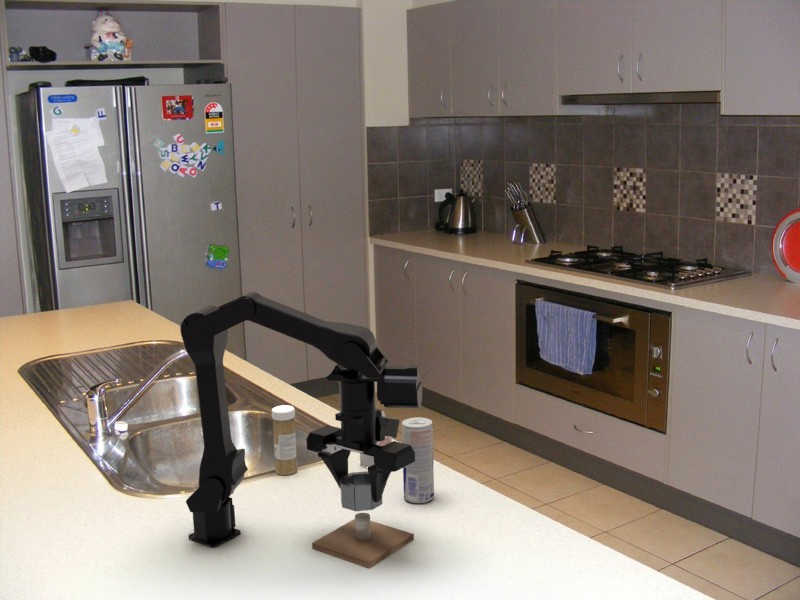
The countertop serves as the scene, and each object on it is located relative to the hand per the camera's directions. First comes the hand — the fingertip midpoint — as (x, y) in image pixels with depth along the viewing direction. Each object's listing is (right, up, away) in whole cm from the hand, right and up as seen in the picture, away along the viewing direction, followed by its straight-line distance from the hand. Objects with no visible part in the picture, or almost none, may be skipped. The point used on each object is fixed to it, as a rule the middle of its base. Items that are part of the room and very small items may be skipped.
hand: (361, 496), depth 150 cm
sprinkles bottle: (-16, -2, +34) cm, 38 cm away
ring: (0, -1, 0) cm, 1 cm away
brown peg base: (0, -8, +2) cm, 8 cm away
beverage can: (+10, -5, +19) cm, 22 cm away
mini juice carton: (+2, -1, +38) cm, 38 cm away
